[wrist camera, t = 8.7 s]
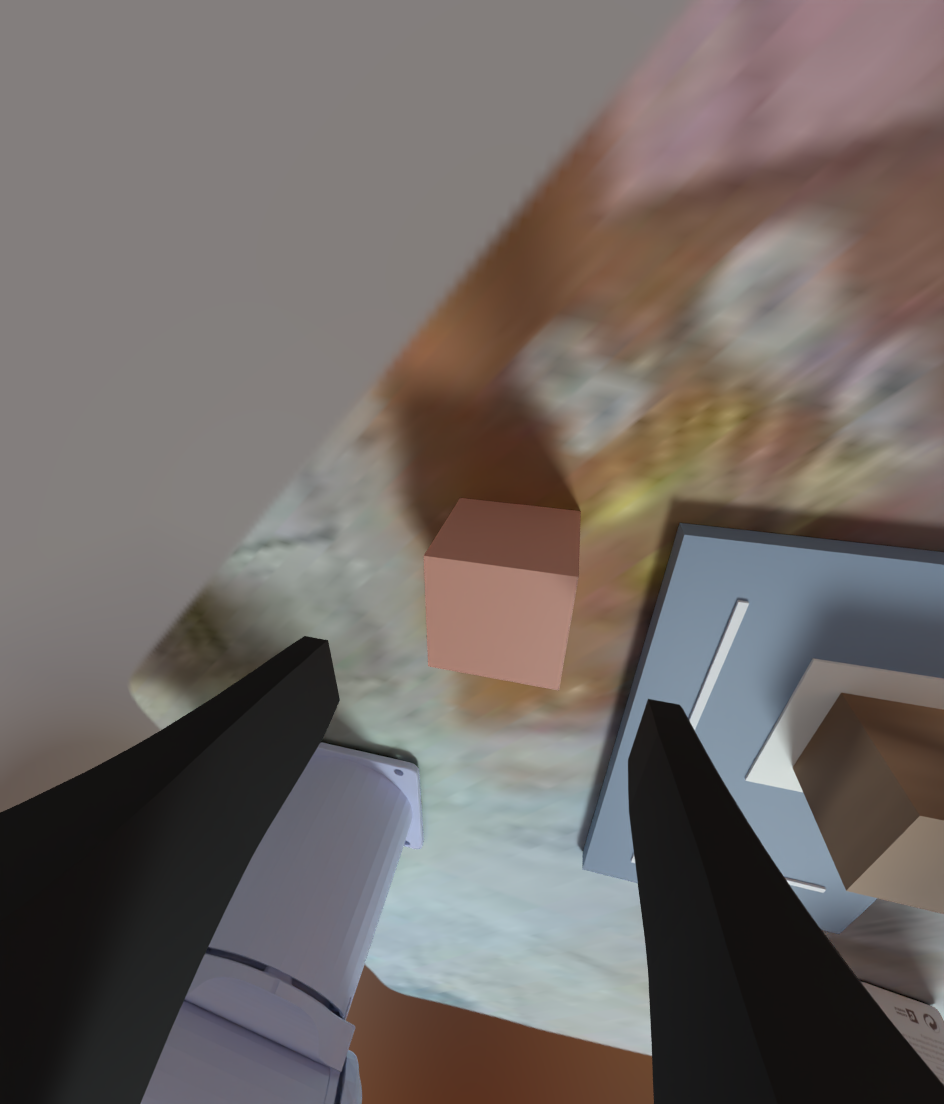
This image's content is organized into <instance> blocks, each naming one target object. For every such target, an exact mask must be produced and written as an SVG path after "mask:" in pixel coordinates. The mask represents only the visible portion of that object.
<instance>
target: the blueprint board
mask: <svg viewBox="0 0 944 1104" xmlns="http://www.w3.org/2000/svg"><path fill="white" fill-rule="evenodd" d="M841 693H847V694H853V695H859V696H865V697H871V698H877V699H883V700H889V701H895V702H901V703H907V704H913V705H919V706H925V707H931V708H937V709H943V710H944V552H938V551H929V550H920V549H911V548H902V547H893V546H884V545H875V544H866V543H857V542H848V541H839V540H830V539H821V538H812V537H803V536H794V535H785V534H776V533H767V532H758V531H749V530H740V529H731V528H722V527H713V526H704V525H695V524H686V523H679V527H678V530H677V534H676V537H675V540H674V544H673V547H672V551H671V554H670V557H669V561H668V564H667V568H666V571H665V574H664V578H663V581H662V585H661V588H660V591H659V595H658V598H657V602H656V605H655V608H654V612H653V615H652V619H651V622H650V625H649V629H648V632H647V636H646V639H645V642H644V646H643V649H642V653H641V656H640V659H639V663H638V666H637V670H636V673H635V676H634V680H633V683H632V687H631V690H630V694H629V697H628V700H627V704H626V707H625V711H624V714H623V717H622V721H621V724H620V728H619V731H618V734H617V738H616V741H615V745H614V748H613V751H612V755H611V758H610V762H609V765H608V768H607V772H606V775H605V779H604V782H603V785H602V789H601V792H600V796H599V799H598V802H597V806H596V809H595V813H594V816H593V819H592V823H591V826H590V830H589V833H588V836H587V840H586V843H585V847H584V850H583V869H584V870H588V871H591V872H595V873H599V874H603V875H607V876H611V877H615V878H619V879H623V880H627V881H631V882H635V883H638V881H637V873H636V865H635V857H634V850H633V841H632V833H631V825H630V817H629V800H628V758H629V755H630V752H631V749H632V746H633V743H634V740H635V737H636V734H637V731H638V728H639V725H640V722H641V719H642V716H643V712H644V709H645V706H646V703H647V700H648V699H652V700H657V701H663V702H668V703H674V704H679V705H680V706H681V707H682V708H683V710H684V711H685V713H686V715H687V717H688V719H689V721H690V723H691V725H692V727H693V728H694V730H695V732H696V734H697V736H698V738H699V739H700V741H701V743H702V745H703V747H704V749H705V750H706V752H707V754H708V756H709V757H710V759H711V761H712V763H713V764H714V766H715V768H716V770H717V771H718V773H719V775H720V777H721V778H722V780H723V782H724V783H725V785H726V787H727V788H728V790H729V792H730V793H731V795H732V797H733V798H734V800H735V802H736V803H737V805H738V806H739V808H740V810H741V811H742V813H743V814H744V816H745V818H746V819H747V821H748V823H749V824H750V826H751V827H752V829H753V831H754V832H755V834H756V835H757V837H758V838H759V840H760V841H761V843H762V845H763V846H764V848H765V849H766V851H767V852H768V854H769V855H770V857H771V858H772V860H773V861H774V863H775V864H776V866H777V867H778V869H779V870H780V872H781V873H782V875H783V876H784V877H785V879H786V880H787V882H788V883H789V885H790V886H791V888H792V889H793V891H794V892H795V894H796V895H797V896H798V898H799V899H800V901H801V902H802V904H803V905H804V906H805V908H806V909H807V911H808V912H809V913H810V915H811V916H812V918H813V919H814V920H815V922H816V923H817V925H818V926H819V927H820V929H821V930H824V931H828V932H832V933H836V934H840V933H841V932H842V931H843V930H844V929H845V928H846V927H847V926H848V925H850V924H851V923H852V922H853V921H854V920H855V919H856V918H857V917H858V916H859V915H860V914H861V913H862V912H864V911H865V910H866V909H867V908H868V907H869V906H870V905H871V904H872V903H873V902H874V901H875V900H877V899H878V898H874V897H870V896H866V895H861V894H857V893H853V892H849V891H846V890H845V887H844V885H843V883H842V880H841V878H840V876H839V873H838V871H837V869H836V867H835V864H834V862H833V860H832V857H831V855H830V853H829V850H828V848H827V846H826V844H825V841H824V839H823V837H822V834H821V832H820V830H819V828H818V825H817V823H816V821H815V818H814V816H813V814H812V811H811V809H810V807H809V805H808V802H807V800H806V798H805V795H804V793H803V791H802V788H801V786H800V784H799V782H798V779H797V777H796V775H795V772H794V770H793V768H792V767H793V766H794V764H795V763H796V761H797V760H798V758H799V757H800V755H801V754H802V752H803V750H804V749H805V747H806V746H807V744H808V743H809V741H810V740H811V738H812V737H813V735H814V734H815V732H816V730H817V729H818V727H819V726H820V724H821V723H822V721H823V720H824V718H825V717H826V715H827V714H828V712H829V710H830V709H831V707H832V706H833V704H834V703H835V701H836V700H837V698H838V697H839V695H840V694H841Z"/></svg>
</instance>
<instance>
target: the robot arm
mask: <svg viewBox="0 0 944 1104" xmlns="http://www.w3.org/2000/svg"><path fill="white" fill-rule="evenodd" d="M339 701H340V699H339V694H338V689H337V684H336V679H335V673H334V668H333V663H332V658H331V653H330V648H329V643H328V640H323V639H317V638H312V637H306V636H304V637H303V638H301V639H300V640H298V641H296V642H295V643H293V644H292V645H290V646H289V647H287V648H286V649H285V650H283V651H282V652H280V653H279V654H277V655H276V656H274V657H273V658H271V659H270V660H269V661H267V662H266V663H264V664H263V665H261V666H260V667H258V668H257V669H255V670H254V671H253V672H251V673H250V674H248V675H247V676H245V677H244V678H242V679H241V680H239V681H238V682H236V683H235V684H233V685H232V686H230V687H229V688H227V689H226V690H224V691H223V692H221V693H220V694H218V695H217V696H215V697H214V698H212V699H211V700H209V701H208V702H206V703H204V704H203V705H201V706H200V707H198V708H196V709H195V710H193V711H191V712H190V713H188V714H187V715H185V716H183V717H182V718H180V719H179V720H177V721H175V722H174V723H172V724H171V725H169V726H167V727H166V728H164V729H163V730H161V731H159V732H158V733H156V734H154V735H152V736H151V737H150V738H147V739H146V740H144V741H142V742H140V743H139V744H137V745H135V746H133V747H132V748H130V749H128V750H126V751H124V752H122V753H120V754H118V755H117V756H115V757H113V758H111V759H109V760H107V761H106V762H104V763H102V764H100V765H98V766H96V767H94V768H92V769H90V770H88V771H87V772H85V773H82V774H80V775H78V776H76V777H74V778H72V779H70V780H68V781H66V782H64V783H62V784H60V785H58V786H56V787H54V788H52V789H50V790H47V791H46V792H43V793H41V794H39V795H37V796H35V797H33V798H31V799H29V800H27V801H25V802H23V803H21V804H19V805H16V806H14V807H12V808H10V809H8V810H5V811H3V812H1V813H0V1104H362V1087H361V1082H360V1077H359V1065H358V1060H357V1056H356V1055H355V1054H354V1053H353V1052H352V1051H350V1050H348V1049H349V1046H350V1043H351V1040H352V1036H353V1033H354V1030H355V1026H354V1025H353V1024H351V1023H349V1022H347V1021H346V1018H347V1015H348V1012H349V1009H350V1006H351V1003H352V1000H353V997H354V994H355V991H356V988H357V985H358V981H359V979H360V975H361V973H362V970H363V967H364V964H365V961H366V958H367V955H368V952H369V949H370V946H371V943H372V940H373V937H374V934H375V930H376V927H377V924H378V921H379V918H380V915H381V912H382V909H383V906H384V903H385V900H386V897H387V894H388V891H389V888H390V885H391V882H392V879H393V876H394V873H395V870H396V867H397V864H398V861H399V858H400V855H401V852H402V849H403V846H405V847H409V848H413V849H420V848H422V846H423V842H424V835H423V819H422V804H421V789H420V774H419V768H418V767H417V766H416V765H415V764H413V763H411V762H407V761H402V760H398V759H393V758H389V757H384V756H380V755H376V754H371V753H367V752H362V751H358V750H354V749H349V748H345V747H340V746H336V745H331V744H327V743H323V742H321V740H322V738H323V736H324V734H325V732H326V730H327V728H328V726H329V724H330V721H331V719H332V717H333V714H334V712H335V710H336V708H337V705H338V703H339ZM628 800H629V817H630V825H631V833H632V841H633V850H634V857H635V865H636V873H637V881H638V888H639V896H640V904H641V912H642V919H643V927H644V935H645V943H646V954H647V965H648V977H649V998H650V1018H651V1038H652V1061H653V1062H652V1064H653V1089H654V1104H944V1085H943V1083H942V1082H941V1081H940V1080H939V1079H938V1077H937V1076H936V1075H935V1074H934V1073H933V1071H932V1070H931V1069H930V1068H929V1067H928V1065H927V1064H926V1063H925V1062H924V1060H923V1059H922V1058H921V1057H920V1056H919V1054H918V1053H917V1052H916V1051H915V1050H914V1048H913V1047H912V1046H911V1045H910V1044H909V1042H908V1041H907V1040H906V1039H905V1038H904V1036H903V1035H902V1034H901V1033H900V1032H899V1030H898V1029H897V1028H896V1027H895V1025H894V1024H893V1023H892V1022H891V1020H890V1019H889V1018H888V1017H887V1015H886V1014H885V1013H884V1011H883V1010H882V1009H881V1008H880V1006H879V1005H878V1004H877V1002H876V1001H875V1000H874V998H873V997H872V996H871V995H870V993H869V992H868V991H867V989H866V988H865V987H864V986H863V984H862V983H861V982H860V980H859V979H858V978H857V977H856V975H855V974H854V973H853V971H852V970H851V969H850V968H849V966H848V965H847V964H846V962H845V961H844V960H843V958H842V957H841V956H840V954H839V953H838V951H837V950H836V949H835V947H834V946H833V945H832V943H831V942H830V941H829V939H828V938H827V937H826V935H825V934H824V933H823V931H822V930H821V929H820V927H819V926H818V925H817V923H816V922H815V920H814V919H813V918H812V916H811V915H810V913H809V912H808V911H807V909H806V908H805V906H804V905H803V904H802V902H801V901H800V899H799V898H798V896H797V895H796V894H795V892H794V891H793V889H792V888H791V886H790V885H789V883H788V882H787V880H786V879H785V877H784V876H783V875H782V873H781V872H780V870H779V869H778V867H777V866H776V864H775V863H774V861H773V860H772V858H771V857H770V855H769V854H768V852H767V851H766V849H765V848H764V846H763V845H762V843H761V841H760V840H759V838H758V837H757V835H756V834H755V832H754V831H753V829H752V827H751V826H750V824H749V823H748V821H747V819H746V818H745V816H744V814H743V813H742V811H741V810H740V808H739V806H738V805H737V803H736V802H735V800H734V798H733V797H732V795H731V793H730V792H729V790H728V788H727V787H726V785H725V783H724V782H723V780H722V778H721V777H720V775H719V773H718V771H717V770H716V768H715V766H714V764H713V763H712V761H711V759H710V757H709V756H708V754H707V752H706V750H705V749H704V747H703V745H702V743H701V741H700V739H699V738H698V736H697V734H696V732H695V730H694V728H693V727H692V725H691V723H690V721H689V719H688V717H687V715H686V713H685V711H684V710H683V708H682V707H681V706H680V705H679V704H674V703H668V702H663V701H657V700H652V699H648V700H647V703H646V706H645V709H644V712H643V716H642V719H641V722H640V725H639V728H638V731H637V734H636V737H635V740H634V743H633V746H632V749H631V752H630V755H629V758H628Z"/></svg>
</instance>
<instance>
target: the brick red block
mask: <svg viewBox="0 0 944 1104" xmlns="http://www.w3.org/2000/svg"><path fill="white" fill-rule="evenodd" d="M580 514H581V511H575V510H566V509H557V508H548V507H539V506H530V505H521V504H512V503H503V502H493V501H484V500H475V499H466V498H460V499H459V500H458V502H457V503H456V505H455V507H454V508H453V510H452V511H451V513H450V515H449V516H448V518H447V519H446V521H445V523H444V524H443V526H442V527H441V529H440V531H439V532H438V534H437V535H436V537H435V539H434V540H433V542H432V543H431V545H430V547H429V548H428V550H427V551H426V553H425V555H424V574H425V598H426V622H427V646H428V666H430V667H435V668H440V669H446V670H451V671H457V672H462V673H467V674H473V675H478V676H484V677H489V678H495V679H500V680H505V681H511V682H516V683H522V684H527V685H532V686H538V687H543V688H549V689H554V690H559V687H560V681H561V675H562V670H563V664H564V658H565V652H566V647H567V641H568V635H569V629H570V624H571V618H572V612H573V606H574V601H575V595H576V589H577V583H578V578H579V547H580Z"/></svg>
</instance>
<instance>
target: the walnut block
mask: <svg viewBox="0 0 944 1104" xmlns="http://www.w3.org/2000/svg"><path fill="white" fill-rule="evenodd" d="M792 768H793V770H794V772H795V775H796V777H797V779H798V782H799V784H800V786H801V788H802V791H803V793H804V795H805V798H806V800H807V802H808V805H809V807H810V809H811V811H812V814H813V816H814V818H815V821H816V823H817V825H818V828H819V830H820V832H821V834H822V837H823V839H824V841H825V844H826V846H827V848H828V850H829V853H830V855H831V857H832V860H833V862H834V864H835V867H836V869H837V871H838V873H839V876H840V878H841V880H842V883H843V885H844V887H845V890H846V891H849V892H853V893H857V894H861V895H866V896H870V897H874V898H878V899H882V900H887V901H891V902H895V903H899V904H903V905H908V906H912V907H916V908H920V909H924V910H929V911H933V912H937V913H941V914H944V710H943V709H937V708H931V707H925V706H919V705H913V704H907V703H901V702H895V701H889V700H883V699H877V698H871V697H865V696H859V695H853V694H847V693H841V694H840V695H839V697H838V698H837V700H836V701H835V703H834V704H833V706H832V707H831V709H830V710H829V712H828V714H827V715H826V717H825V718H824V720H823V721H822V723H821V724H820V726H819V727H818V729H817V730H816V732H815V734H814V735H813V737H812V738H811V740H810V741H809V743H808V744H807V746H806V747H805V749H804V750H803V752H802V754H801V755H800V757H799V758H798V760H797V761H796V763H795V764H794V766H793V767H792Z"/></svg>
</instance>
